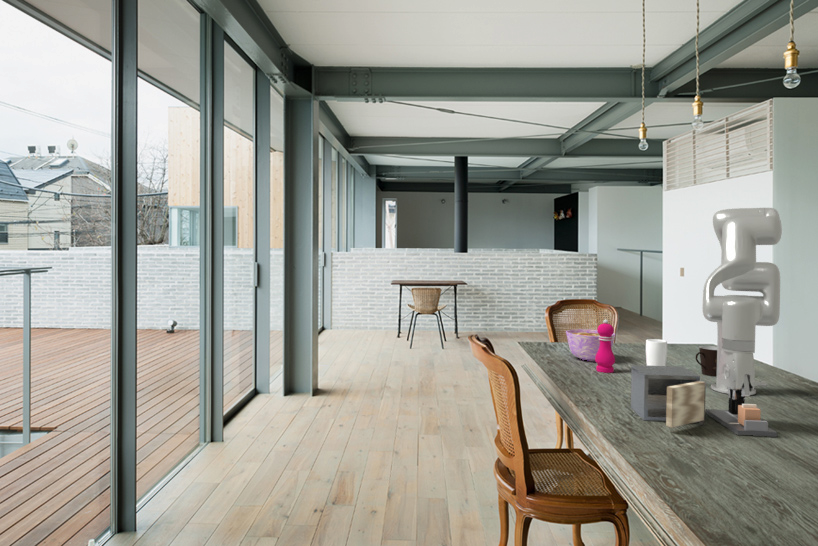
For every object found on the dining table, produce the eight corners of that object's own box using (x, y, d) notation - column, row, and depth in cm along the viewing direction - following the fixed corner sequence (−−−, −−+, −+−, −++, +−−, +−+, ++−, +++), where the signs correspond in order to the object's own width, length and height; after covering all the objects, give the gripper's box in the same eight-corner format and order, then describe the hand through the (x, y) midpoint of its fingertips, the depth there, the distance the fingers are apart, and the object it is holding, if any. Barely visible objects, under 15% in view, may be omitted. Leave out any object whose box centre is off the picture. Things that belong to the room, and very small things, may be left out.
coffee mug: (718, 372, 198) (718, 346, 198) (729, 377, 190) (730, 350, 189) (686, 371, 199) (686, 345, 199) (696, 376, 191) (696, 349, 191)
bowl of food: (576, 353, 235) (576, 327, 235) (621, 358, 223) (621, 332, 222) (557, 360, 220) (558, 332, 220) (605, 366, 207) (606, 337, 207)
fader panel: (740, 414, 146) (740, 401, 146) (776, 437, 128) (777, 422, 128) (705, 413, 147) (706, 400, 147) (737, 435, 129) (737, 421, 129)
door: (700, 423, 138) (701, 380, 138) (706, 425, 137) (707, 381, 136) (666, 431, 131) (666, 386, 131) (671, 433, 130) (672, 388, 130)
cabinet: (681, 409, 151) (682, 366, 150) (698, 422, 139) (699, 376, 138) (630, 407, 152) (631, 365, 152) (643, 420, 140) (644, 374, 140)
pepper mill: (617, 373, 196) (618, 320, 195) (598, 373, 196) (599, 320, 195) (610, 369, 203) (611, 318, 202) (592, 368, 203) (593, 318, 202)
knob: (752, 422, 134) (753, 402, 134) (760, 427, 130) (760, 406, 130) (737, 421, 134) (738, 402, 134) (744, 426, 131) (745, 406, 131)
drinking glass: (644, 384, 179) (645, 341, 179) (645, 380, 185) (646, 338, 185) (666, 386, 176) (667, 342, 176) (666, 382, 182) (667, 339, 182)
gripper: (710, 340, 146) (708, 405, 147) (737, 350, 131) (735, 422, 132) (738, 341, 145) (737, 406, 146) (769, 351, 130) (766, 423, 131)
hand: (736, 413), depth 139 cm, fingers closed
